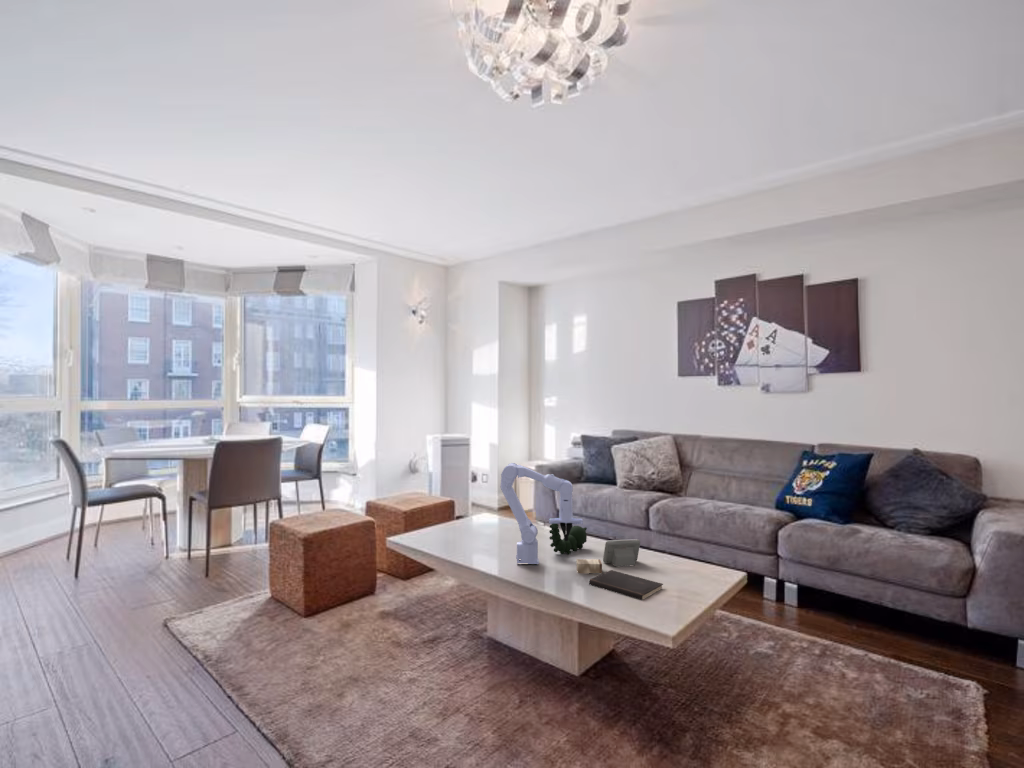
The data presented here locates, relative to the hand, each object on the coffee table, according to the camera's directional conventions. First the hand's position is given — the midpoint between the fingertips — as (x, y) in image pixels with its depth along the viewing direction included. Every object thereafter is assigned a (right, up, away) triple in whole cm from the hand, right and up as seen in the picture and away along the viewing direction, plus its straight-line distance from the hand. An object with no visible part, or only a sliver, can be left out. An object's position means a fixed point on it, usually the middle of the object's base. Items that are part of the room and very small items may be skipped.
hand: (566, 540), depth 225 cm
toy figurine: (+4, -11, +19) cm, 22 cm away
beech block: (+4, -8, -8) cm, 12 cm away
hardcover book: (+20, -11, -26) cm, 35 cm away
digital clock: (+25, -11, +1) cm, 27 cm away
